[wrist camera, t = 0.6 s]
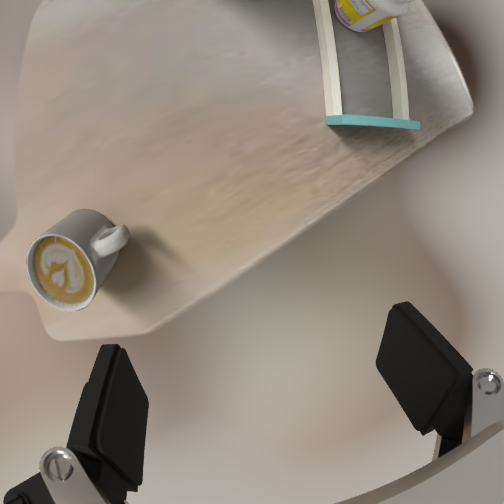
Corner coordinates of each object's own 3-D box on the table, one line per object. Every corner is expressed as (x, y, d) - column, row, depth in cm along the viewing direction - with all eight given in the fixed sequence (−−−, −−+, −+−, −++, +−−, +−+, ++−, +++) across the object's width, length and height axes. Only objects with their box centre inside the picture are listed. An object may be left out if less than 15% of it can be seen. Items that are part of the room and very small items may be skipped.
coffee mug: (72, 278, 37) (45, 315, 28) (52, 217, 33) (15, 242, 24) (149, 264, 38) (135, 303, 29) (132, 196, 34) (108, 217, 25)
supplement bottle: (375, 9, 28) (425, -17, 16) (369, 40, 30) (424, 18, 18) (336, -10, 26) (379, -46, 14) (328, 21, 28) (374, -13, 17)
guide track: (308, -22, 25) (320, -37, 20) (381, -7, 26) (397, -17, 22) (326, 124, 34) (343, 124, 30) (399, 128, 36) (420, 130, 31)
